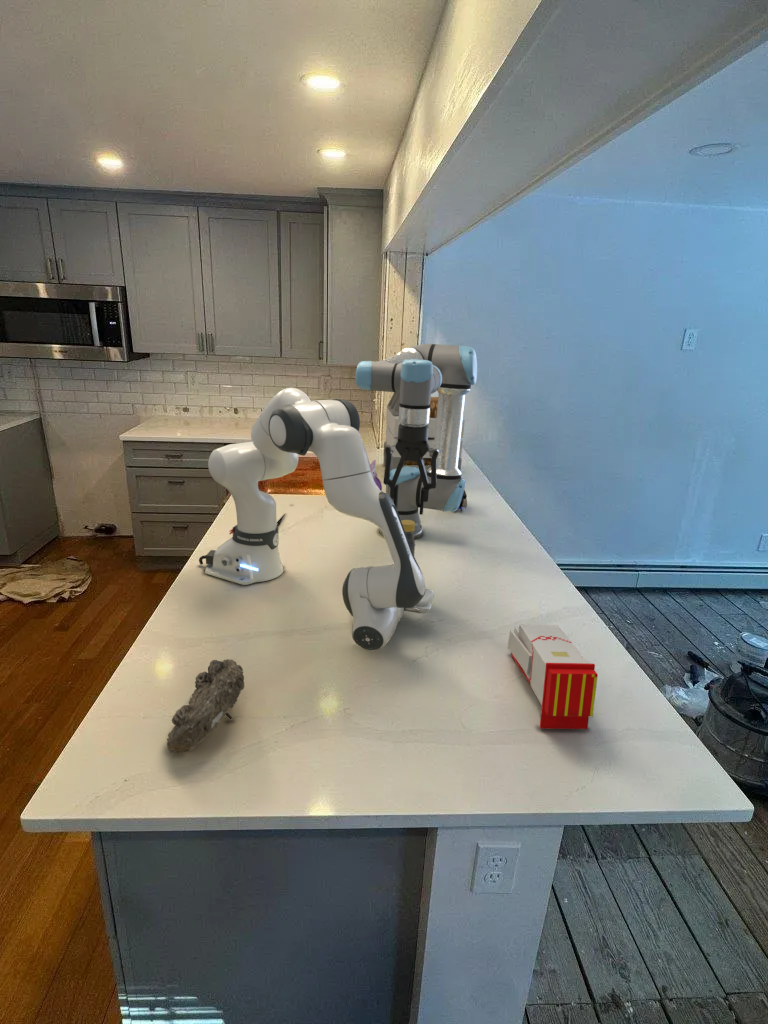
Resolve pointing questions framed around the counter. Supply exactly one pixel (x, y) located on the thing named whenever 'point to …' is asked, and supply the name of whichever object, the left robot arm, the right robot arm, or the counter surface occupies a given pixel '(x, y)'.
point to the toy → (555, 675)
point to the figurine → (375, 475)
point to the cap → (408, 525)
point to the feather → (280, 520)
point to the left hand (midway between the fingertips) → (400, 581)
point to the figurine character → (463, 501)
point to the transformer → (393, 423)
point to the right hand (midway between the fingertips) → (408, 511)
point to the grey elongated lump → (206, 705)
